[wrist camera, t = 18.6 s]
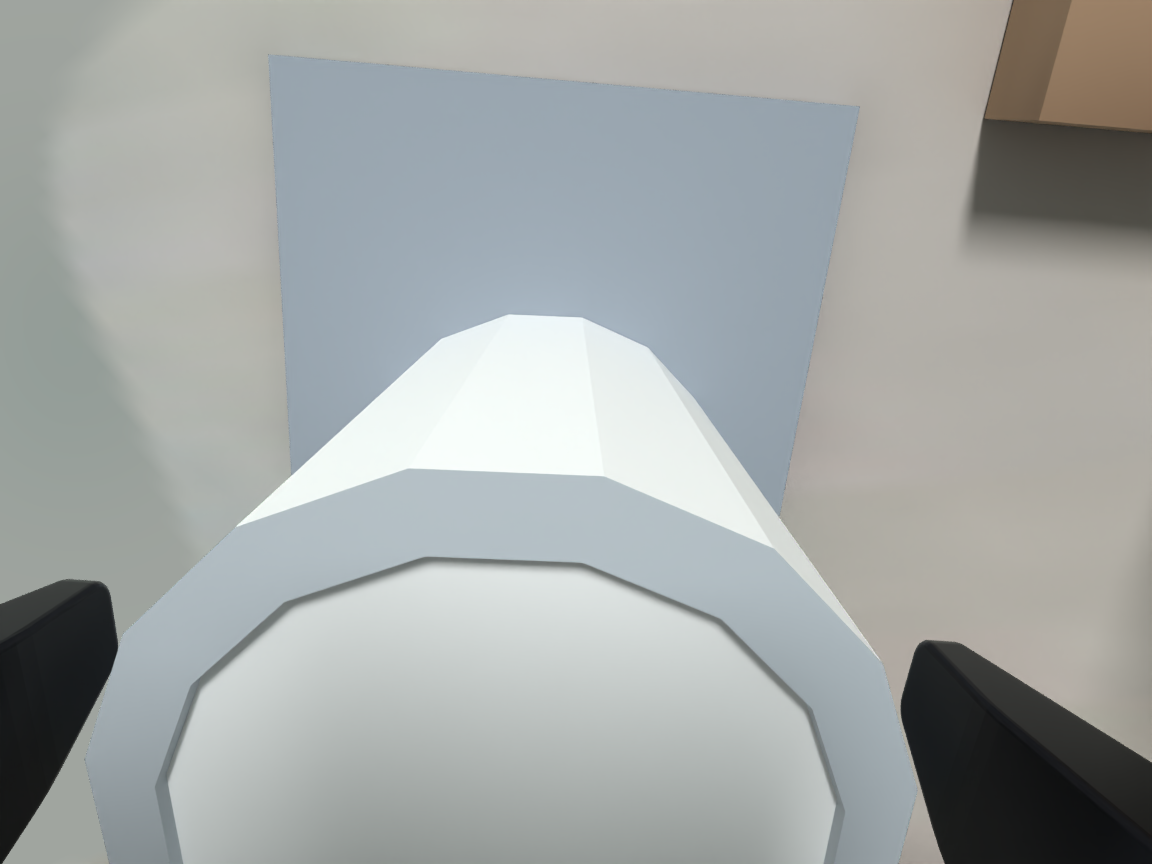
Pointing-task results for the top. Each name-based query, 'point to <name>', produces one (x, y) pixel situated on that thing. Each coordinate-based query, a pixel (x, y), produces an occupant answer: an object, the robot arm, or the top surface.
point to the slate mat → (552, 232)
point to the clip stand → (1076, 65)
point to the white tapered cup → (506, 645)
